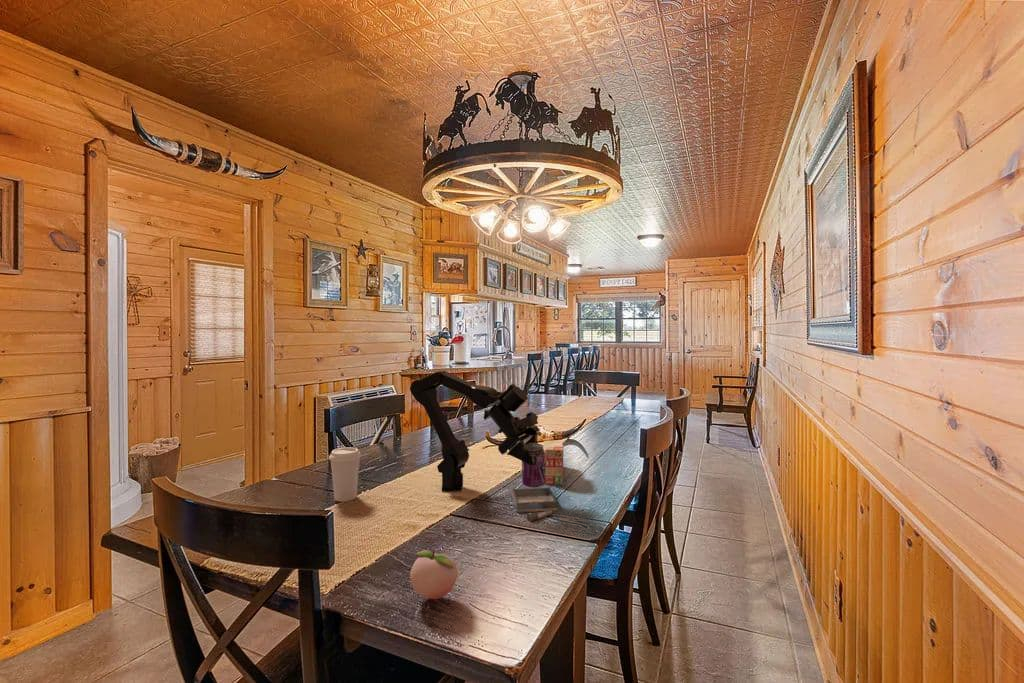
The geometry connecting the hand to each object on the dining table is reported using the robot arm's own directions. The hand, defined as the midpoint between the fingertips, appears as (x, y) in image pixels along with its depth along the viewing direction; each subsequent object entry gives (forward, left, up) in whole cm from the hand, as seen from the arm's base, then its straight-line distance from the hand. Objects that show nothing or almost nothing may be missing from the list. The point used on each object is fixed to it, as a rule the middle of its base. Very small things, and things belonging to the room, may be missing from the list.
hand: (537, 461), depth 142 cm
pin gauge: (-1, -10, -13) cm, 17 cm away
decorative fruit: (-29, -47, -13) cm, 57 cm away
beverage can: (-1, +2, -8) cm, 8 cm away
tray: (-1, +1, -13) cm, 13 cm away
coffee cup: (-59, +12, -13) cm, 62 cm away
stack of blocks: (+11, +28, -14) cm, 33 cm away
